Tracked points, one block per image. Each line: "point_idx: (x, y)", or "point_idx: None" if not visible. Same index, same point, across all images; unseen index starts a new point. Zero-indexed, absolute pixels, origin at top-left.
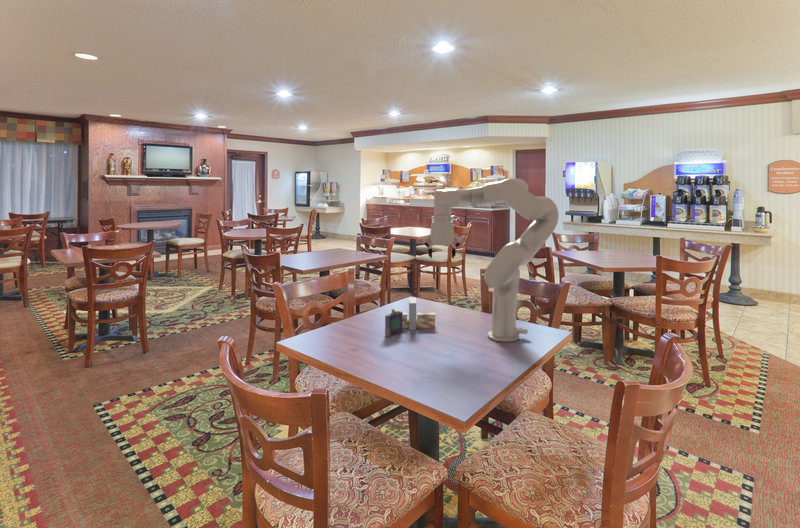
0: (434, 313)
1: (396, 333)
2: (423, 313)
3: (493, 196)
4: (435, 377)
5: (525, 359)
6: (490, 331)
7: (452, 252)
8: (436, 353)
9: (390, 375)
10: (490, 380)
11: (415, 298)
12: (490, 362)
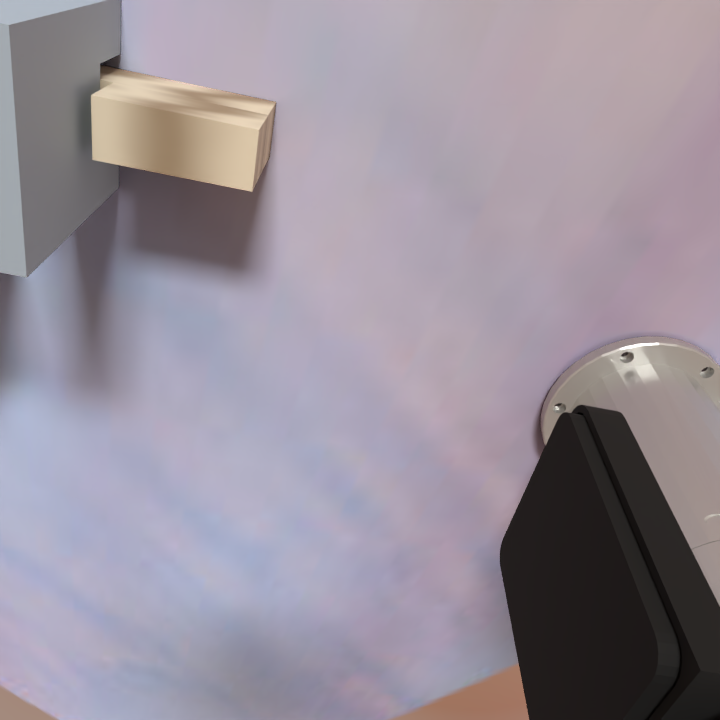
0: (252, 156)
1: None
2: (149, 135)
3: None
4: (167, 672)
5: None
6: (595, 365)
7: (525, 694)
8: (202, 526)
9: (14, 642)
10: (337, 708)
11: (7, 75)
12: (398, 623)
